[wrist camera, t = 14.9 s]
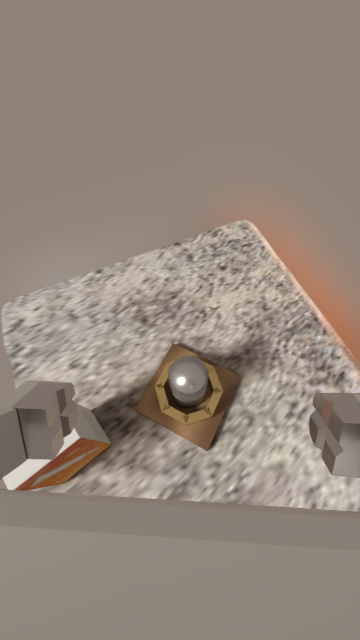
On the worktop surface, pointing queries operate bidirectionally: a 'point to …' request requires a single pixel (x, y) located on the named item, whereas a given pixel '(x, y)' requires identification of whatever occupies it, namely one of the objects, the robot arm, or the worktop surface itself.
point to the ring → (195, 416)
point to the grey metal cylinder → (188, 381)
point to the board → (199, 431)
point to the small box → (62, 456)
